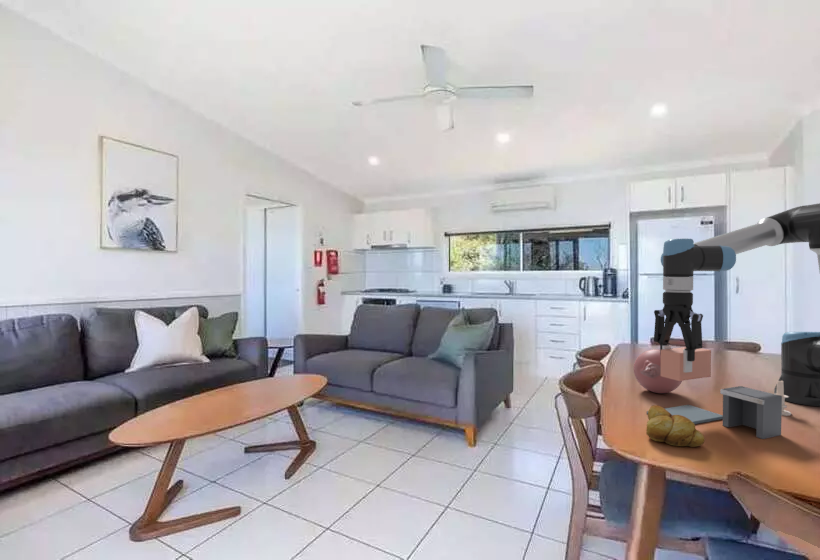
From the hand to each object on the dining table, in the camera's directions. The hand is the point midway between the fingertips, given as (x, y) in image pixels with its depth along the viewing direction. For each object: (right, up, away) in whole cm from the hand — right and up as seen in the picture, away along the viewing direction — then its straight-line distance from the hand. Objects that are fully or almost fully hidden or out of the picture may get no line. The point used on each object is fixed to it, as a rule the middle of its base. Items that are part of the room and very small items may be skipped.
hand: (676, 369), depth 124 cm
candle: (+35, -15, +4) cm, 38 cm away
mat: (+4, -14, +2) cm, 15 cm away
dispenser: (+14, -15, -9) cm, 23 cm away
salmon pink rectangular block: (+3, -2, +1) cm, 4 cm away
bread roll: (-12, -15, -17) cm, 25 cm away
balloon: (+8, -14, +25) cm, 29 cm away
